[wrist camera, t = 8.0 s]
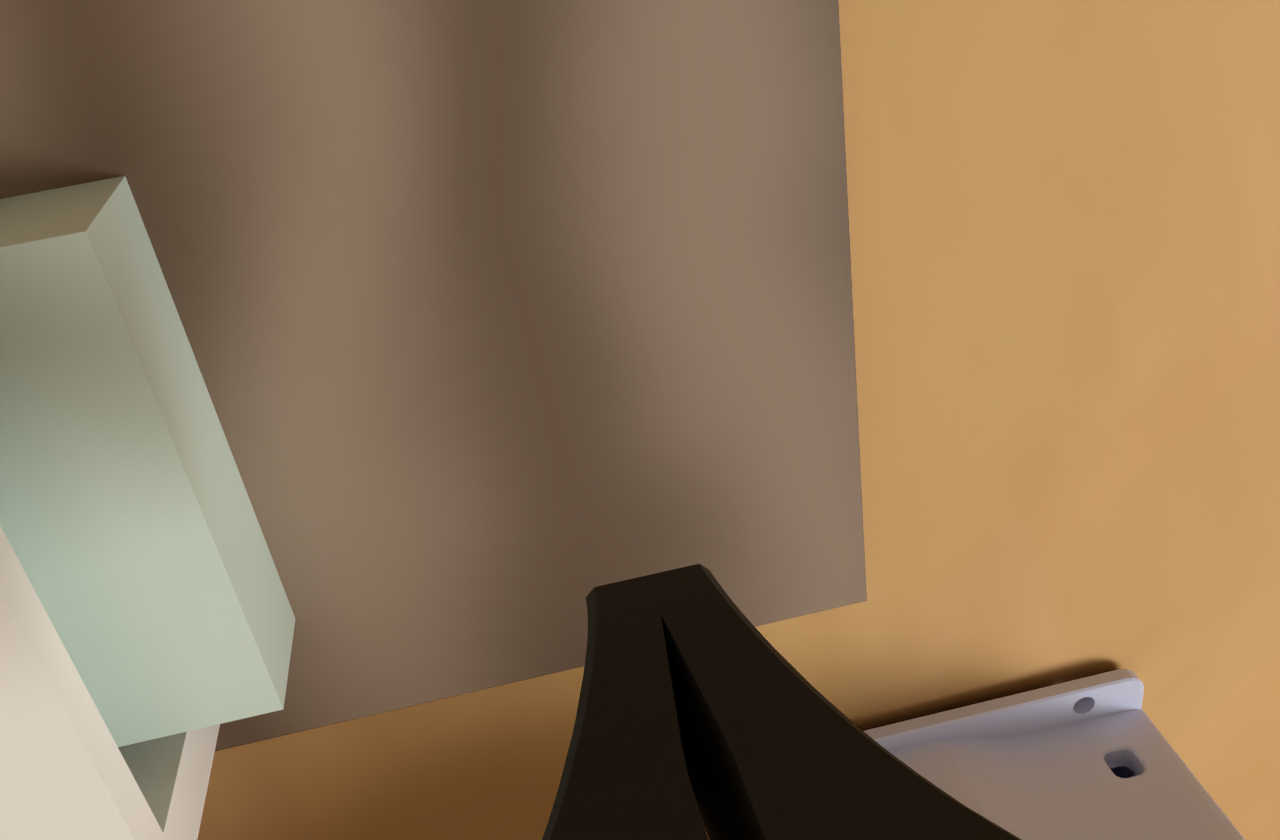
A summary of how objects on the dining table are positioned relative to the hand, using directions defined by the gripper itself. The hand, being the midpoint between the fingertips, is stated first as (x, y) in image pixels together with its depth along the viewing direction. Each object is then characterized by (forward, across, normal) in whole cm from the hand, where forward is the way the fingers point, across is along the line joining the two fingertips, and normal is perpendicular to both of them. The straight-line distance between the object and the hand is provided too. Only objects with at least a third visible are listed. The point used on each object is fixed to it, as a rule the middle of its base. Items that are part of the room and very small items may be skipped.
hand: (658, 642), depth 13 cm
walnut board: (+8, +7, 0) cm, 11 cm away
